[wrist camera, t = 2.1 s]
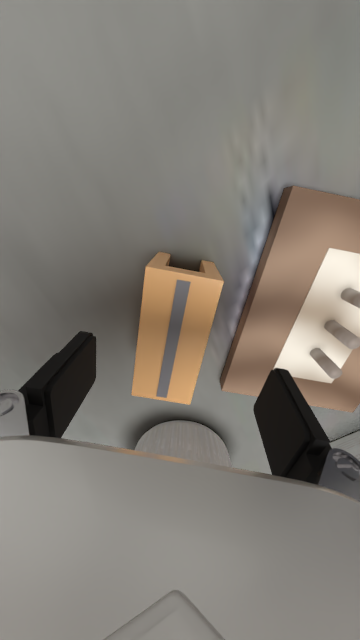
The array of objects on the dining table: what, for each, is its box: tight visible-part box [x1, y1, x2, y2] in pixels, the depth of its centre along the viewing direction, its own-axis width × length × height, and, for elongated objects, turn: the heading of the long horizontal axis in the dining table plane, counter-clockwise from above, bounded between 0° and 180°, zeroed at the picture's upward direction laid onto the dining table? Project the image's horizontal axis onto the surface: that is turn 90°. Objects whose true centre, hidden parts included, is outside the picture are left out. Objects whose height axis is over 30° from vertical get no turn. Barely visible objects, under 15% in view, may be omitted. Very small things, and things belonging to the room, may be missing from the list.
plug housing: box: [132, 252, 224, 405], centre depth 17 cm, size 10×5×6 cm, turn 170°
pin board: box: [220, 186, 360, 412], centre depth 18 cm, size 18×14×4 cm
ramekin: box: [134, 420, 233, 468], centre depth 25 cm, size 13×13×7 cm
